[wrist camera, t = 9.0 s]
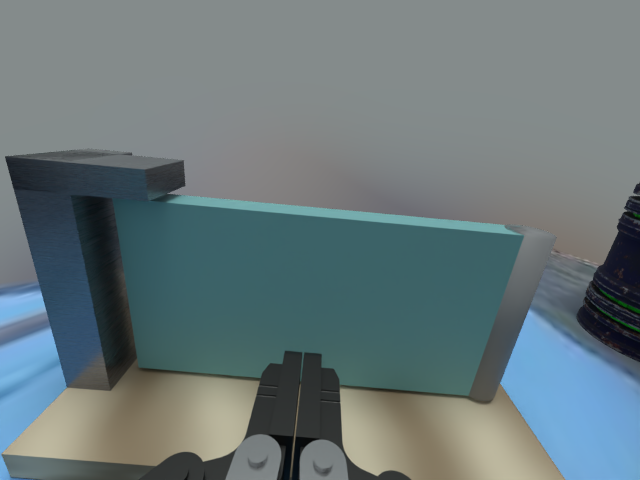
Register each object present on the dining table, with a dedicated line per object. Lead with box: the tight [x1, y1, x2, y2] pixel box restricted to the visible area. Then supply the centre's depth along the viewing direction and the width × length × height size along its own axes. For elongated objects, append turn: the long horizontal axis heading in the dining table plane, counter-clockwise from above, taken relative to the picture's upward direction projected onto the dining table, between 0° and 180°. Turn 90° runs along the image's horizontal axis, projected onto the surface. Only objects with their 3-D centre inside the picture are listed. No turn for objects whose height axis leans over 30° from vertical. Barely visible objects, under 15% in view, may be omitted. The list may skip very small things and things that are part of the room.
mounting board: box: [2, 359, 565, 480], centre depth 22 cm, size 25×18×2 cm
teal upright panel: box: [112, 194, 557, 401], centre depth 17 cm, size 21×2×10 cm, turn 89°
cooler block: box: [5, 149, 185, 391], centre depth 20 cm, size 20×12×12 cm, turn 89°
